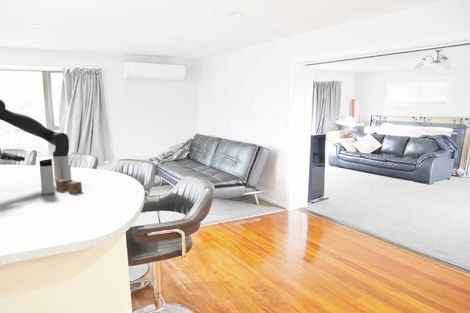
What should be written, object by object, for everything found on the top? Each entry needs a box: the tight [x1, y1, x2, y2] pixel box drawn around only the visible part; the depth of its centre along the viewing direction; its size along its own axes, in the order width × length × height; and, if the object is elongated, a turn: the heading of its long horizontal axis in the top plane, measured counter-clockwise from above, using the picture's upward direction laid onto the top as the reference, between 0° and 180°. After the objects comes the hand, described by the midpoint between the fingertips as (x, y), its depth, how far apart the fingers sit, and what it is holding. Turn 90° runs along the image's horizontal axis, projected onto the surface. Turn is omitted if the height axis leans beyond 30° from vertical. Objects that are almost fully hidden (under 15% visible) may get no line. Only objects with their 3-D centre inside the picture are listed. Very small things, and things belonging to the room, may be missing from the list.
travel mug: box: [39, 158, 55, 196], centre depth 186 cm, size 6×7×20 cm
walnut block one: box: [68, 181, 83, 195], centre depth 190 cm, size 5×5×6 cm
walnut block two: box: [55, 179, 70, 192], centre depth 196 cm, size 5×5×6 cm
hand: (22, 159), depth 182 cm, fingers open, 8 cm apart
